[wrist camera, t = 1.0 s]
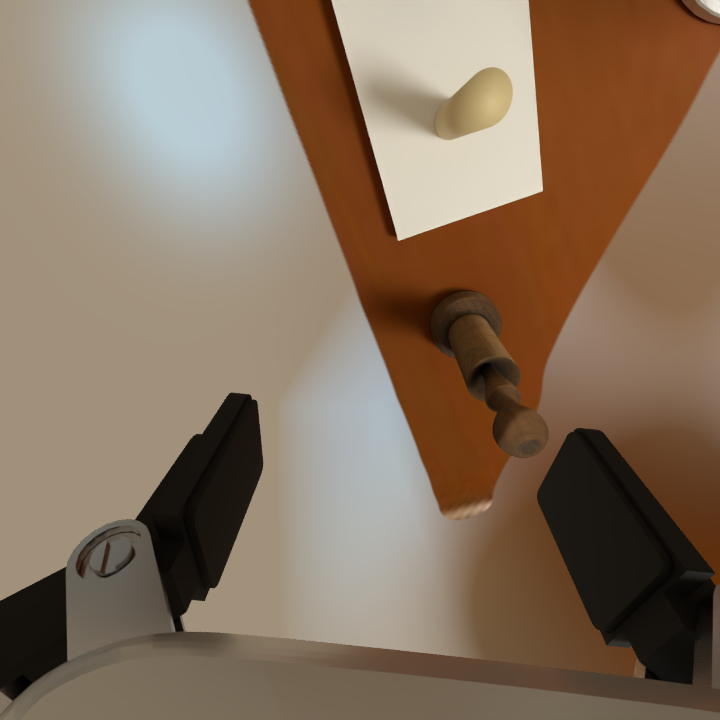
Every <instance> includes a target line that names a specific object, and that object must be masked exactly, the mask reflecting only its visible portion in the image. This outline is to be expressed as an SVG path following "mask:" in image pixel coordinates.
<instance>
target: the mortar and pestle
mask: <svg viewBox="0 0 720 720" xmlns="http://www.w3.org/2000/svg"><path fill="white" fill-rule="evenodd" d="M501 328H502V320H501V316H500V313H499V312H498V310H497V308H496V307H495V306H494V304H493V303H492V302H491V300H490V299H489V298H487V297H486V296H485V295H483V294H481V293H478V292H474V291H462V292H457V293H454V294H451V295H449V296H447V297H446V298H444V299H443V300H442V301H441V302H440V303H439V304H438V305H437V306H436V307H435V309H434V311H433V313H432V315H431V319H430V330H431V334H432V337H433V340H434V342H435V344H436V346H437V347H438V349H439V350H440V351H441V352H443V353H444V354H446V355H447V356H450V357H453V358H456V360H457V362H458V365H459V367H460V370H461V372H462V375H463V378H464V380H465V383H466V386H467V388H468V390H469V392H470V394H471V395H472V396H473V397H475V398H476V399H478V400H481V401H486V404H487V406H488V407H489V408H490V409H491V410H492V411H495V412H497V415H496V417H495V420H494V423H493V436H494V439H495V441H496V443H497V444H498V445H499V447H500V448H501V449H502V450H503V451H505V452H506V453H508V454H509V455H512V456H514V457H519V458H527V457H532V456H534V455H536V454H538V453H539V452H541V451H542V450H543V449H544V447H545V446H546V444H547V441H548V428H547V425H546V422H545V421H544V419H543V418H542V417H541V416H540V415H539V414H538V413H537V412H535V411H534V410H532V409H530V408H528V407H525V406H522V405H519V403H520V400H521V394H520V392H519V390H518V389H517V388H516V387H517V386H518V384H519V381H520V371H519V368H518V366H517V365H516V363H515V362H514V361H513V359H512V358H511V356H510V355H509V354H508V352H507V351H506V349H505V348H504V346H503V345H502V343H501V342H500V340H499V339H498V337H499V335H500V332H501Z"/></svg>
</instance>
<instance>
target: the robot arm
mask: <svg viewBox="0 0 720 720" xmlns="http://www.w3.org/2000/svg"><path fill="white" fill-rule="evenodd" d="M682 2H683V3H684V4H685V5H686V6H687V7H688V8H689V9H690V10H691V11H692V12H693V13H694V14H695V15H696V16H698V17H700V18H702V19H704V20H706V21H708V22H711V23H716V24H720V0H682ZM262 469H263V456H262V445H261V434H260V424H259V414H258V404H257V401H256V400H252V397H251V395H249V394H240V393H230V394H229V395H228V396H227V397H226V399H225V401H224V402H223V404H222V405H221V407H220V408H219V410H218V411H217V413H216V414H215V416H214V417H213V419H212V420H211V422H210V424H209V425H208V426H207V428H206V429H205V431H204V432H203V434H196V435H194V436H193V438H191V440H190V441H189V442H188V444H187V445H186V447H185V448H184V450H183V451H182V453H181V454H180V455H179V457H178V458H177V460H176V461H175V463H174V464H173V466H172V467H171V468H170V470H169V471H168V473H167V474H166V476H165V477H164V479H163V480H162V482H161V483H160V485H159V486H158V487H157V489H156V490H155V492H154V493H153V494H152V496H151V497H150V499H149V500H148V502H147V503H146V505H145V506H144V508H143V509H142V511H141V512H140V513H139V515H138V516H137V518H136V519H135V520H131V519H127V520H118V521H115V522H112V523H109V524H106V525H104V526H102V527H100V528H99V529H97V530H95V531H93V532H92V533H91V534H90V535H88V536H87V537H86V538H85V539H83V540H82V541H81V543H80V544H79V545H78V546H77V547H76V548H75V549H74V551H73V552H72V554H71V556H70V558H69V560H68V562H67V567H65V568H63V569H61V570H59V571H57V572H55V573H53V574H51V575H49V576H47V577H46V578H44V579H42V580H40V581H38V582H36V583H34V584H32V585H30V586H28V587H26V588H24V589H22V590H20V591H18V592H17V593H15V594H13V595H11V596H9V597H7V598H5V599H3V600H1V601H0V720H720V585H718V586H715V584H714V583H713V582H712V580H711V579H710V578H711V577H712V576H713V575H714V574H715V573H714V571H713V570H712V569H711V567H710V566H709V565H708V564H707V562H706V561H705V560H704V559H703V557H702V556H701V555H700V554H699V552H698V551H697V550H696V549H695V547H694V546H693V545H692V544H691V542H690V541H689V540H688V539H687V537H686V536H685V535H684V533H683V532H682V531H681V530H680V528H679V527H678V526H677V525H676V523H675V522H674V521H673V520H672V518H671V517H670V516H669V515H668V513H667V512H666V511H665V510H664V508H663V507H662V506H661V505H660V503H659V502H658V501H657V500H656V498H655V497H654V496H653V495H652V493H650V491H649V489H648V488H647V487H646V486H645V485H644V483H643V482H642V481H641V479H640V478H639V477H638V476H637V474H636V473H635V472H634V471H633V469H632V468H631V467H630V466H629V465H628V463H627V462H626V461H625V459H624V458H623V457H622V456H621V454H620V453H619V452H618V451H617V449H616V448H615V447H614V446H613V444H612V443H611V442H610V441H609V439H608V438H607V437H606V435H605V434H604V433H603V432H601V431H600V430H594V429H584V428H577V429H575V430H574V432H571V433H569V434H568V435H567V437H566V439H565V441H564V443H563V445H562V447H561V449H560V450H559V452H558V454H557V456H556V458H555V460H554V462H553V464H552V465H551V467H550V469H549V471H548V473H547V475H546V477H545V479H544V481H543V482H542V484H541V486H540V488H539V490H538V493H537V499H538V503H539V505H540V507H541V510H542V512H543V514H544V516H545V519H546V521H547V523H548V526H549V528H550V530H551V532H552V535H553V537H554V539H555V541H556V544H557V546H558V547H559V550H560V553H561V555H562V557H563V559H564V562H565V564H566V566H567V568H568V571H569V573H570V575H571V577H572V580H573V582H574V584H575V586H576V588H577V591H578V593H579V595H580V597H581V600H582V602H583V604H584V606H585V609H586V611H587V613H588V615H589V618H590V620H591V622H592V624H593V625H594V626H595V628H596V629H598V630H600V632H601V634H602V636H603V638H604V640H605V643H606V645H609V646H617V647H626V648H629V647H630V646H632V648H633V650H634V651H635V654H636V655H637V661H636V667H635V672H634V677H629V676H620V675H612V674H602V673H594V672H585V671H577V670H569V669H560V668H552V667H543V666H534V665H525V664H517V663H508V662H499V661H490V660H481V659H472V658H463V657H454V656H445V655H436V654H427V653H418V652H409V651H400V650H391V649H381V648H371V647H362V646H352V645H343V644H334V643H324V642H315V641H305V640H296V639H285V638H274V637H263V636H251V635H239V634H227V633H211V632H186V630H185V627H184V623H183V619H182V615H183V614H184V613H186V611H187V609H188V607H189V605H190V602H191V600H199V601H205V599H206V596H207V594H208V591H209V589H210V588H215V587H216V586H217V585H218V583H219V581H220V578H221V576H222V573H223V571H224V568H225V565H226V563H227V560H228V558H229V555H230V553H231V550H232V547H233V545H234V542H235V540H236V537H237V535H238V532H239V530H240V527H241V524H242V522H243V519H244V517H245V514H246V512H247V509H248V507H249V504H250V501H251V499H252V496H253V494H254V491H255V489H256V486H257V484H258V481H259V478H260V476H261V473H262Z"/></svg>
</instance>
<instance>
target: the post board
mask: <svg viewBox="0 0 720 720" xmlns="http://www.w3.org/2000/svg"><path fill="white" fill-rule="evenodd" d="M331 1H332V4H333V8H334V12H335V15H336V19H337V22H338V26H339V29H340V33H341V37H342V40H343V44H344V47H345V51H346V55H347V58H348V62H349V65H350V69H351V72H352V76H353V80H354V83H355V87H356V90H357V94H358V98H359V101H360V105H361V108H362V112H363V116H364V119H365V123H366V126H367V130H368V133H369V137H370V141H371V144H372V148H373V151H374V155H375V159H376V162H377V166H378V169H379V173H380V176H381V180H382V184H383V187H384V191H385V194H386V198H387V202H388V205H389V209H390V212H391V216H392V219H393V223H394V227H395V230H396V234H397V237H398V241H399V240H402V239H405V238H408V237H411V236H413V235H416V234H419V233H422V232H425V231H428V230H431V229H434V228H437V227H440V226H443V225H445V224H448V223H451V222H454V221H457V220H460V219H463V218H466V217H469V216H472V215H475V214H477V213H480V212H483V211H486V210H489V209H492V208H495V207H498V206H501V205H504V204H507V203H509V202H512V201H515V200H518V199H521V198H524V197H527V196H530V195H533V194H536V193H539V192H541V191H543V186H542V173H541V160H540V146H539V133H538V120H537V107H536V93H535V80H534V67H533V53H532V40H531V27H530V14H529V0H331Z"/></svg>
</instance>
